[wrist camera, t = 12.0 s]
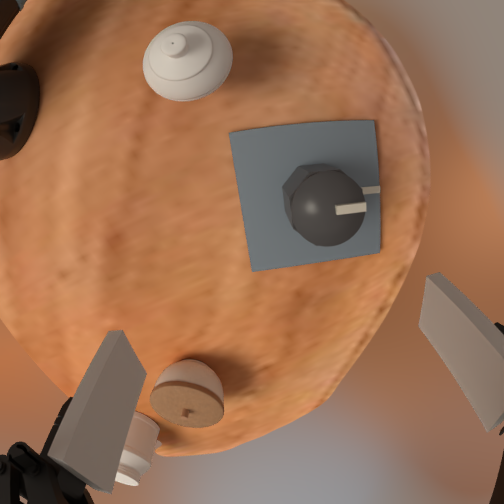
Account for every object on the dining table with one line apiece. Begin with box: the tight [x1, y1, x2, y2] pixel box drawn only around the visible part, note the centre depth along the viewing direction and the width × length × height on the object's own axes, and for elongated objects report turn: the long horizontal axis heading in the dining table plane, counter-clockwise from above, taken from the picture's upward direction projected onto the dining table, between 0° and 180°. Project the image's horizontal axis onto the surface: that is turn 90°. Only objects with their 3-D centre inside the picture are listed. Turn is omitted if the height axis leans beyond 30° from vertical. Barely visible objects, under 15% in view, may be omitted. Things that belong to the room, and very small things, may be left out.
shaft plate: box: [229, 120, 381, 272], centre depth 28 cm, size 16×16×6 cm
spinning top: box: [143, 21, 233, 101], centre depth 20 cm, size 8×8×12 cm
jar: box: [115, 411, 160, 486], centre depth 42 cm, size 12×10×15 cm
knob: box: [282, 163, 366, 247], centre depth 26 cm, size 7×7×7 cm
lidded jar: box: [150, 359, 224, 428], centre depth 37 cm, size 11×11×9 cm
